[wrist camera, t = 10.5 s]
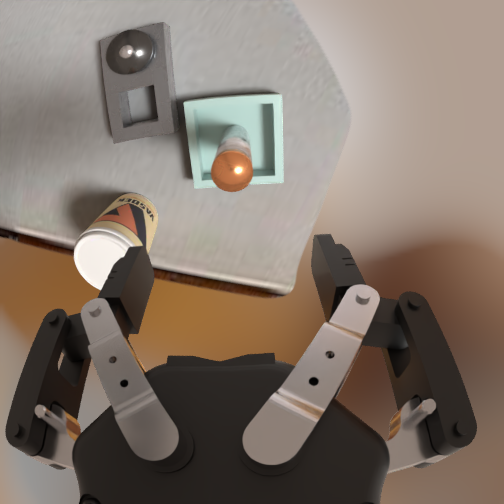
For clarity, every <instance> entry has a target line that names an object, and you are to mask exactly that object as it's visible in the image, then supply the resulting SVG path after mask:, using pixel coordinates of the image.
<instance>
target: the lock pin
mask: <svg viewBox="0 0 504 504" xmlns="http://www.w3.org/2000/svg"><path fill="white" fill-rule="evenodd" d="M211 177H212V180H213V182H214V183H215V185H216V186H217V187H219V188H220V189H222V190H224V191H228V192H236V191H240V190H242V189H244V188H245V187H246V186H248V184H249V183H250V182H251V180H252V177H253V166H252V156H251V147H250V138H249V133H248V131H247V130H246V129H245V128H244V127H242V126H239V125H232V126H229V127H228V128H226V129H225V131H224V132H223V134H222V137H221V140H220V143H219V146H218V149H217V152H216V155H215V158H214V161H213V164H212V167H211Z"/></svg>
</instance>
